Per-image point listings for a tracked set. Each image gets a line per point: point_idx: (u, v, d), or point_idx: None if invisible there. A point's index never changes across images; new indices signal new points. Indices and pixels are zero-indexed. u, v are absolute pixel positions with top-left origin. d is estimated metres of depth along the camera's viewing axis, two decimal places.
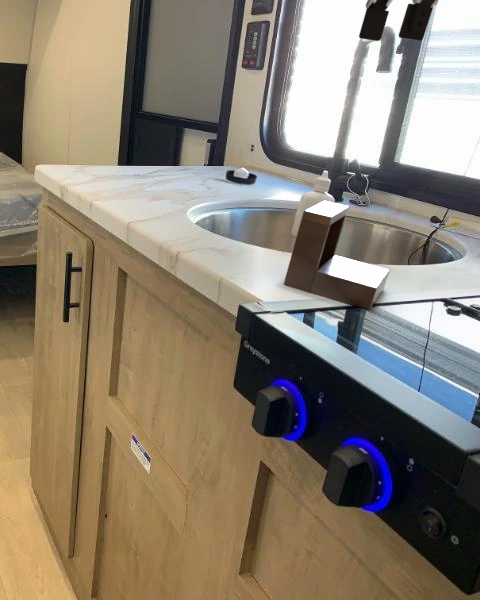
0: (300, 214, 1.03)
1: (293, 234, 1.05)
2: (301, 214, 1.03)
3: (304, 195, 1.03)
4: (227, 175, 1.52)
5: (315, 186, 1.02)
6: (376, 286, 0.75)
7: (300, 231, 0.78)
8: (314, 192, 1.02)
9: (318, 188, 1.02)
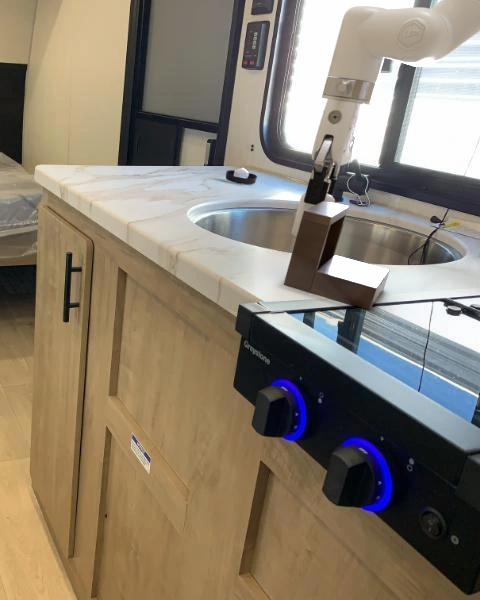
0: (300, 214, 1.03)
1: (293, 234, 1.05)
2: (301, 214, 1.03)
3: (304, 195, 1.03)
4: (227, 175, 1.52)
5: None
6: (376, 286, 0.75)
7: (300, 231, 0.78)
8: None
9: None
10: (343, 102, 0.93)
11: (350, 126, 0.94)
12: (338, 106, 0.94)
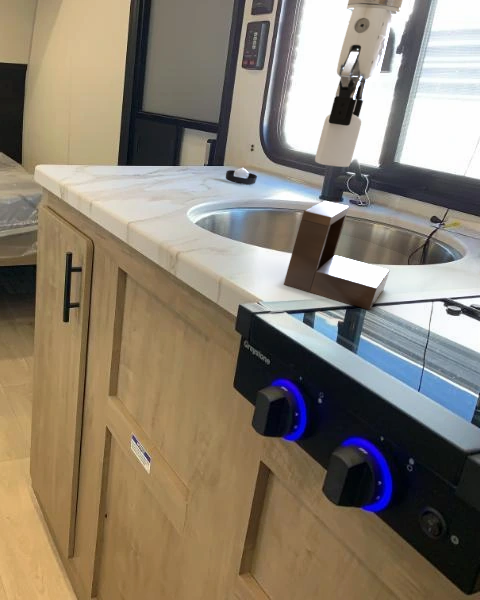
0: (324, 137, 0.98)
1: (317, 159, 1.00)
2: (326, 136, 0.98)
3: (328, 116, 0.97)
4: (227, 175, 1.52)
5: None
6: (376, 286, 0.75)
7: (300, 231, 0.78)
8: None
9: None
10: (370, 8, 0.88)
11: (378, 34, 0.89)
12: (365, 14, 0.89)
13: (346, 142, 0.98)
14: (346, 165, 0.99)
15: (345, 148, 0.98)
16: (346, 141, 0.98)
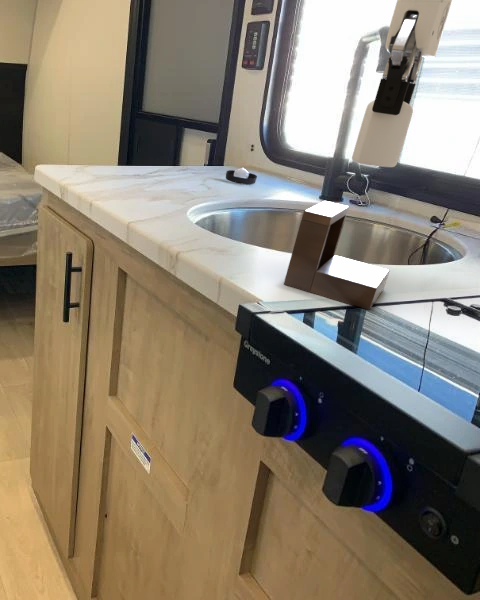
0: (365, 129, 0.78)
1: (355, 158, 0.80)
2: (368, 128, 0.78)
3: (371, 103, 0.77)
4: (227, 175, 1.52)
5: None
6: (376, 286, 0.75)
7: (300, 231, 0.78)
8: None
9: None
10: None
11: None
12: None
13: (392, 136, 0.77)
14: (392, 165, 0.79)
15: (391, 144, 0.78)
16: (393, 135, 0.77)
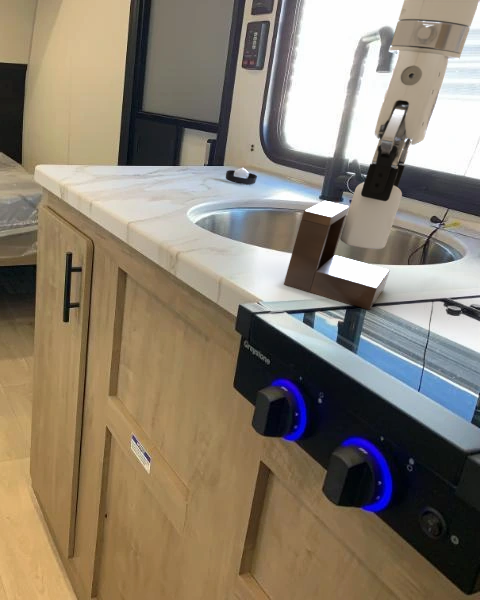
0: (354, 212, 0.76)
1: (344, 239, 0.78)
2: (356, 212, 0.76)
3: (360, 186, 0.76)
4: (227, 175, 1.52)
5: None
6: (376, 286, 0.75)
7: (300, 231, 0.78)
8: None
9: None
10: (424, 54, 0.66)
11: (433, 88, 0.67)
12: (416, 60, 0.67)
13: (381, 219, 0.76)
14: (380, 247, 0.78)
15: (380, 227, 0.76)
16: (382, 219, 0.76)
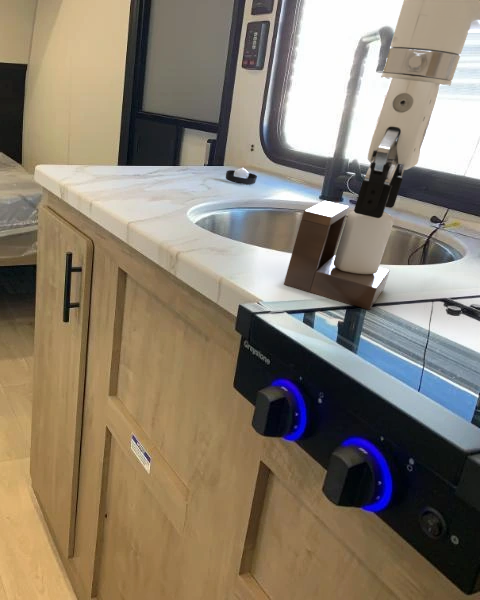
0: (346, 238, 0.78)
1: (336, 264, 0.79)
2: (349, 238, 0.77)
3: (352, 213, 0.77)
4: (227, 175, 1.52)
5: None
6: (376, 286, 0.75)
7: (300, 231, 0.78)
8: None
9: None
10: (415, 82, 0.67)
11: (424, 115, 0.68)
12: (407, 88, 0.68)
13: (373, 246, 0.77)
14: (373, 272, 0.79)
15: (372, 253, 0.78)
16: (374, 245, 0.77)
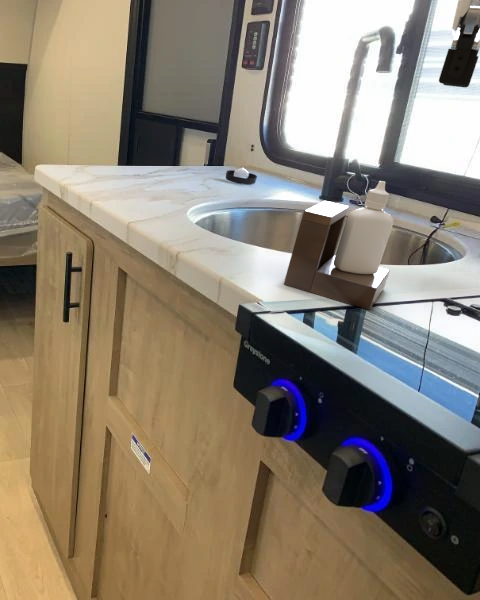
0: (346, 238, 0.78)
1: (336, 264, 0.79)
2: (349, 238, 0.77)
3: (352, 213, 0.77)
4: (227, 175, 1.52)
5: (368, 201, 0.76)
6: (376, 286, 0.75)
7: (300, 231, 0.78)
8: (366, 209, 0.77)
9: (371, 204, 0.76)
10: None
11: None
12: None
13: (373, 246, 0.77)
14: (373, 272, 0.79)
15: (372, 253, 0.78)
16: (374, 245, 0.77)
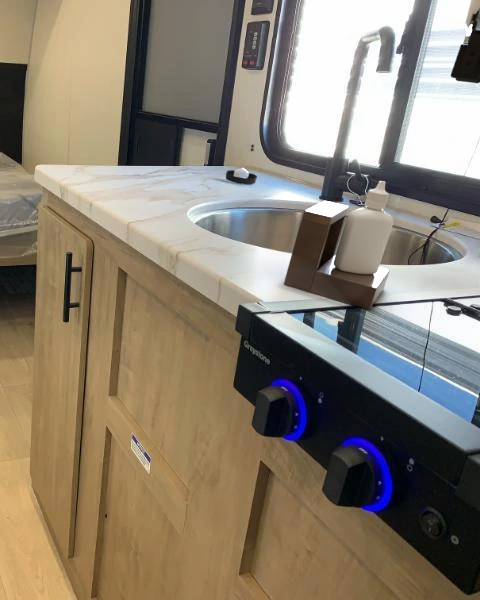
0: (346, 238, 0.78)
1: (336, 264, 0.79)
2: (349, 238, 0.77)
3: (352, 213, 0.77)
4: (227, 175, 1.52)
5: (368, 201, 0.76)
6: (376, 286, 0.75)
7: (300, 231, 0.78)
8: (366, 209, 0.77)
9: (371, 204, 0.76)
10: None
11: None
12: None
13: (373, 246, 0.77)
14: (373, 272, 0.79)
15: (372, 253, 0.78)
16: (374, 245, 0.77)
